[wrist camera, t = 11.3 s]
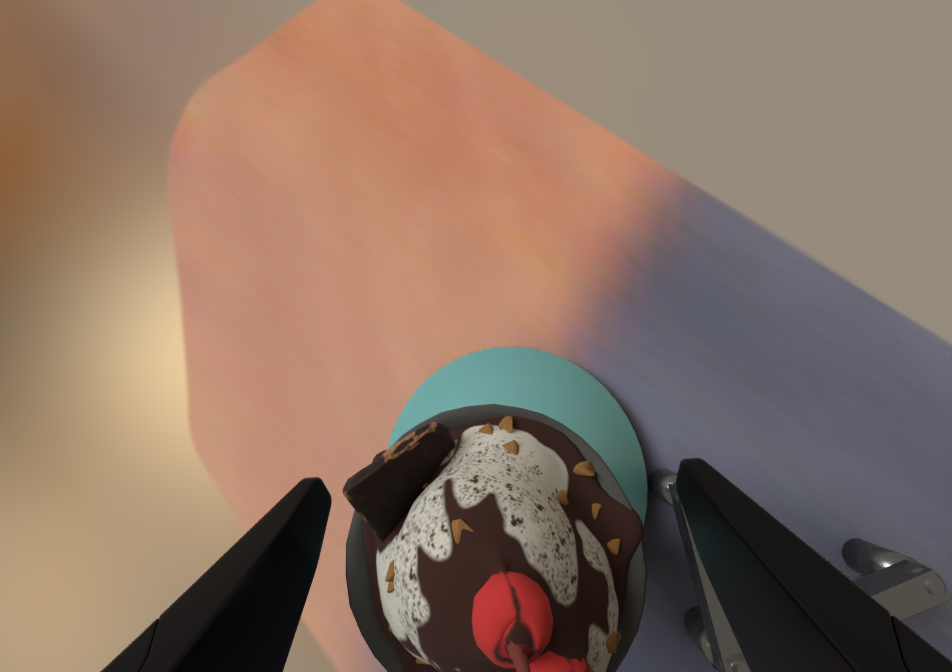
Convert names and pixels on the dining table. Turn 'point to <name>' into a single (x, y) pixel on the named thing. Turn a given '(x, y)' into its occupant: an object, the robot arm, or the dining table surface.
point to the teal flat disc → (537, 404)
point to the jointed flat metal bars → (885, 571)
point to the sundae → (494, 549)
